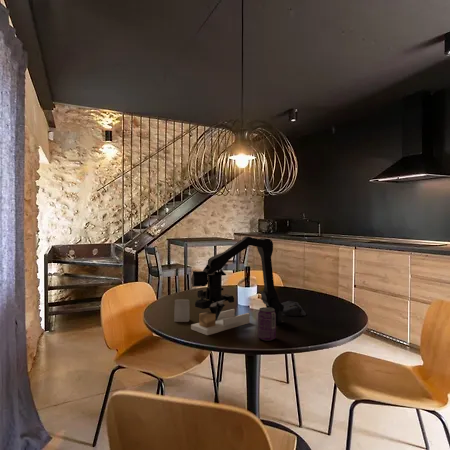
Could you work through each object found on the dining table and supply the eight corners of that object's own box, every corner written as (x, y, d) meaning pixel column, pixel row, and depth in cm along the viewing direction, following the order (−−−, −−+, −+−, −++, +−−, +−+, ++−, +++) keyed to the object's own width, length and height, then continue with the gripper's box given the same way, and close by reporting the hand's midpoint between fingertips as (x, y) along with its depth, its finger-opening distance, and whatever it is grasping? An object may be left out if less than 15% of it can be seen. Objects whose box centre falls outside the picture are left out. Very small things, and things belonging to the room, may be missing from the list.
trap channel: (249, 322, 160) (249, 313, 160) (207, 335, 142) (207, 324, 142) (233, 318, 168) (233, 308, 168) (190, 329, 150) (190, 319, 150)
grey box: (188, 321, 161) (188, 300, 161) (174, 321, 161) (174, 300, 161) (189, 319, 165) (189, 298, 165) (175, 319, 165) (175, 298, 165)
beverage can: (274, 335, 142) (274, 306, 142) (277, 341, 135) (277, 311, 134) (257, 335, 141) (257, 307, 141) (259, 341, 134) (259, 311, 134)
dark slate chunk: (302, 306, 193) (302, 298, 193) (306, 317, 171) (306, 308, 171) (274, 306, 194) (274, 297, 194) (275, 316, 173) (275, 307, 173)
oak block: (215, 325, 149) (215, 313, 149) (206, 327, 146) (206, 316, 146) (208, 322, 153) (208, 311, 153) (199, 325, 149) (199, 313, 149)
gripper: (218, 280, 164) (218, 312, 165) (187, 285, 152) (187, 320, 152) (234, 283, 156) (235, 317, 156) (203, 289, 143) (203, 326, 144)
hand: (215, 320), depth 152 cm, fingers closed
